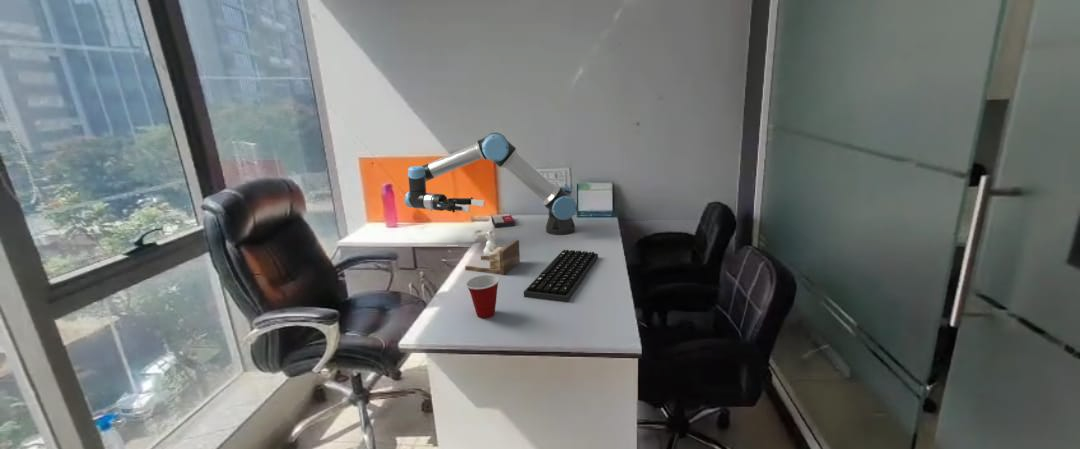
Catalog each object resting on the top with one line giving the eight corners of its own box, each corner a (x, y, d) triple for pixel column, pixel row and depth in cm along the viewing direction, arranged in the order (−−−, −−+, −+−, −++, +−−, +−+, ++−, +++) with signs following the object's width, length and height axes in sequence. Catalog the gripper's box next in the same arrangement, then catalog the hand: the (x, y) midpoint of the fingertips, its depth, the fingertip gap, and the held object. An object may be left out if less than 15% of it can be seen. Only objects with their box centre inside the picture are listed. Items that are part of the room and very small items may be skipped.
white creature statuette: (498, 260, 197) (497, 233, 194) (480, 259, 199) (478, 233, 196) (505, 253, 206) (503, 227, 203) (487, 252, 208) (485, 227, 204)
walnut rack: (464, 270, 187) (462, 247, 184) (482, 258, 200) (481, 236, 198) (504, 275, 180) (502, 251, 177) (519, 262, 193) (518, 240, 191)
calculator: (494, 222, 245) (491, 214, 259) (495, 229, 246) (491, 221, 260) (514, 220, 247) (510, 212, 261) (515, 227, 249) (510, 219, 262)
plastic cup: (469, 308, 153) (466, 274, 150) (501, 305, 154) (499, 272, 151) (467, 323, 143) (463, 287, 139) (501, 320, 143) (499, 285, 140)
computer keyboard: (562, 256, 201) (562, 248, 200) (598, 259, 195) (597, 251, 194) (524, 298, 160) (523, 288, 159) (567, 304, 155) (567, 293, 154)
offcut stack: (489, 272, 184) (488, 254, 182) (500, 263, 194) (499, 246, 192) (501, 273, 183) (500, 255, 181) (511, 264, 192) (510, 247, 190)
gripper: (451, 205, 222) (489, 209, 215) (420, 215, 200) (462, 219, 192) (450, 190, 220) (489, 193, 213) (419, 198, 198) (462, 202, 190)
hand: (476, 206), depth 203 cm, fingers open, 13 cm apart
